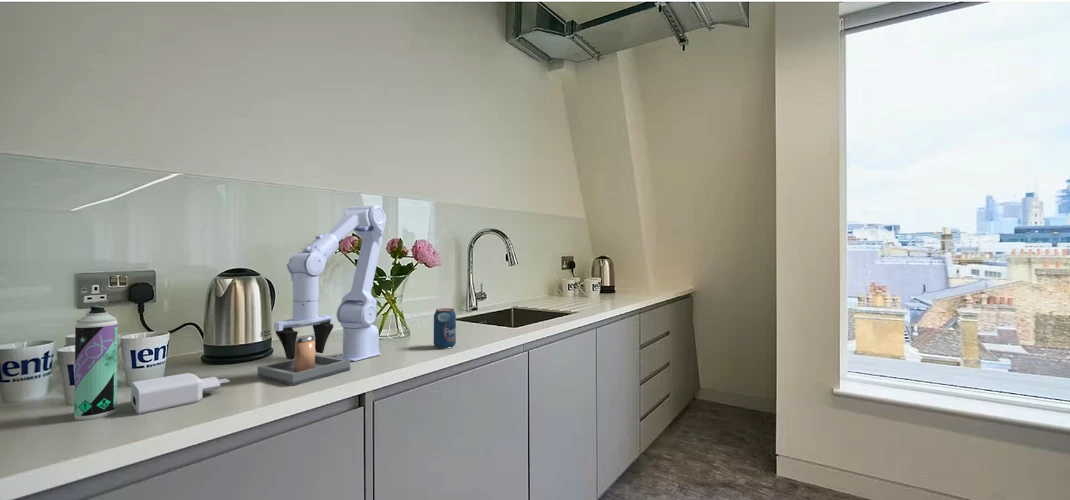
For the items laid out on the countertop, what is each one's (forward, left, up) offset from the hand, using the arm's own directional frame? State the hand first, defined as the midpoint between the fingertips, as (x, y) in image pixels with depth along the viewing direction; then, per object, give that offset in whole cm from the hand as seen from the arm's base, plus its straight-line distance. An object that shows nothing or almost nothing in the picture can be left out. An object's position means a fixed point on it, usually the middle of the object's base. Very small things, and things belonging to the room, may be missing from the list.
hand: (305, 355), depth 107 cm
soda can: (-40, +10, -5) cm, 42 cm away
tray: (0, 0, -4) cm, 4 cm away
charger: (+24, -4, -5) cm, 24 cm away
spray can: (+36, -8, -5) cm, 37 cm away
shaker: (0, 0, -4) cm, 4 cm away
